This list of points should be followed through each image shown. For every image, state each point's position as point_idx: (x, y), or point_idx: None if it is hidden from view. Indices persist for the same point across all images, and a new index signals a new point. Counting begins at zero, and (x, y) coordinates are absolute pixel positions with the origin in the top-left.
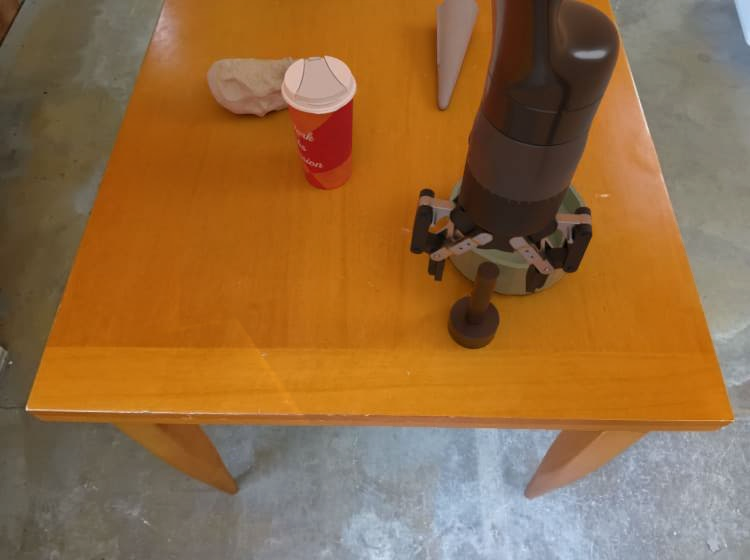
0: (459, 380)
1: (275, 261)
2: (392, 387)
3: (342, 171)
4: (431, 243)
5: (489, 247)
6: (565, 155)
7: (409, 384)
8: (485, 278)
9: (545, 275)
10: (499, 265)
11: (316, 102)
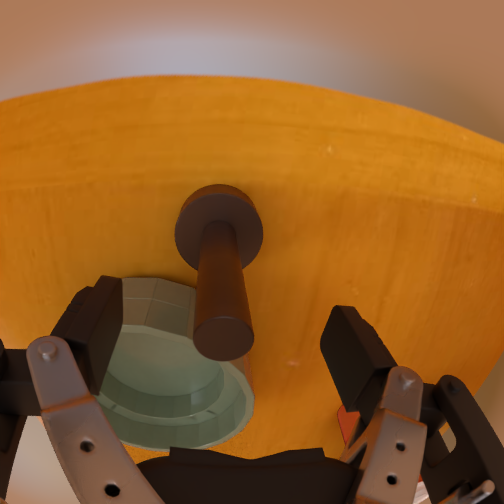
0: (250, 129)
1: (439, 311)
2: (355, 129)
3: (358, 415)
4: (420, 413)
5: (280, 467)
6: None
7: (330, 130)
8: (236, 319)
9: (63, 327)
10: (175, 330)
11: (418, 493)
